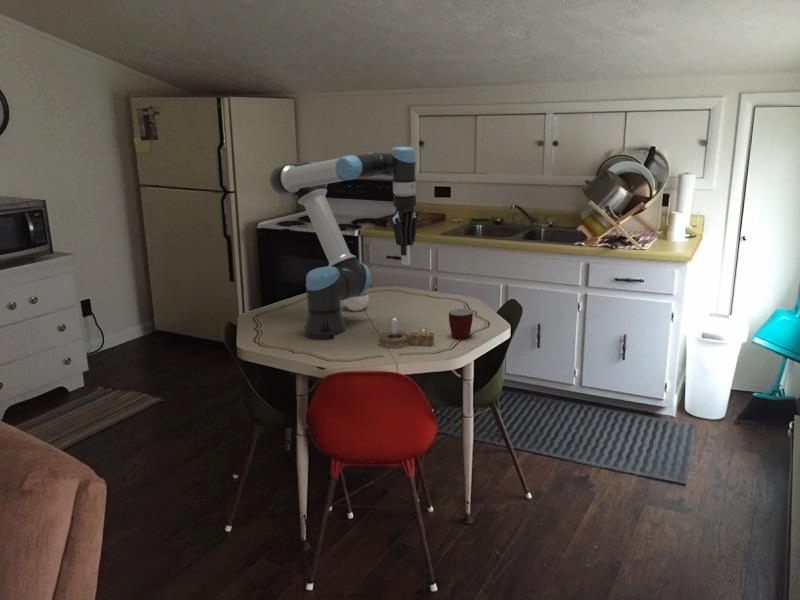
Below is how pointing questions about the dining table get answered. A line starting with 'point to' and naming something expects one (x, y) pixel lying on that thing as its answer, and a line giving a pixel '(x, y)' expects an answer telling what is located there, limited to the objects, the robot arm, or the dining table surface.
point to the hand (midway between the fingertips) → (406, 264)
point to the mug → (460, 323)
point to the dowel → (423, 331)
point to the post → (394, 327)
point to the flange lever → (406, 340)
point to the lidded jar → (357, 302)
